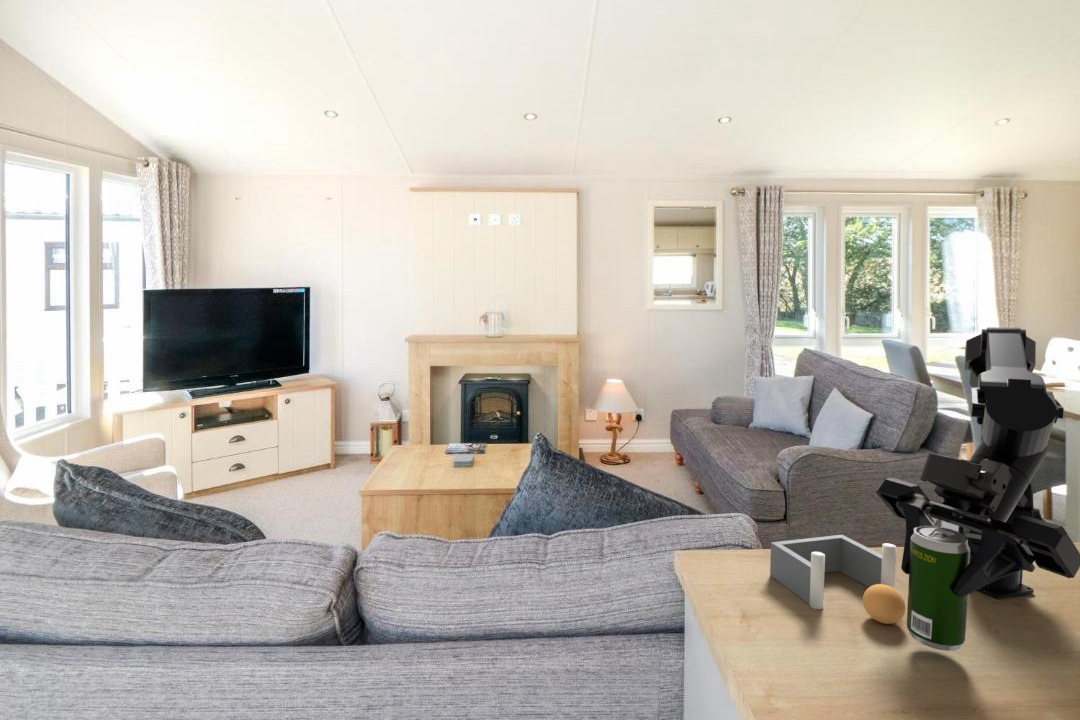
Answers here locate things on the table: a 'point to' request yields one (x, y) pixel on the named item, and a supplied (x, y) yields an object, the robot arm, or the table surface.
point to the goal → (829, 564)
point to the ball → (884, 603)
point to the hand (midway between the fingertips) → (929, 582)
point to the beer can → (937, 587)
